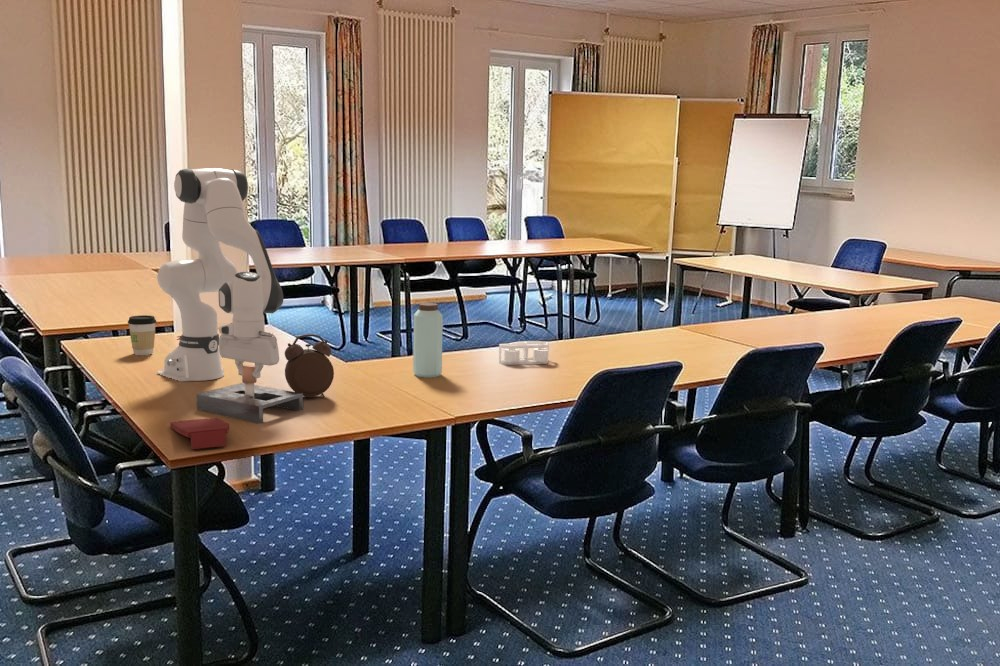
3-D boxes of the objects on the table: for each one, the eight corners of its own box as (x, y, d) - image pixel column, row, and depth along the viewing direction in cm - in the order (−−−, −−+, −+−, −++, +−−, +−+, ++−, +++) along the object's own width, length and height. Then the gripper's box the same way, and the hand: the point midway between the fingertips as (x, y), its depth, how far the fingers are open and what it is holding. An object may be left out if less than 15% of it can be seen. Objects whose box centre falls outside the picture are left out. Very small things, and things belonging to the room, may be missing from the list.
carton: (170, 439, 251) (184, 450, 229) (169, 421, 251) (182, 430, 229) (216, 435, 257) (234, 444, 234) (215, 417, 256) (232, 425, 234)
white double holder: (501, 366, 340) (502, 347, 339) (495, 360, 350) (495, 341, 349) (554, 365, 344) (554, 346, 343) (546, 359, 355) (547, 340, 353)
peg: (249, 405, 273) (249, 364, 271) (261, 408, 271) (261, 366, 268) (237, 409, 269) (237, 367, 267) (250, 411, 267) (249, 369, 264)
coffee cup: (136, 354, 343) (134, 314, 340) (162, 355, 343) (160, 315, 340) (124, 360, 333) (122, 318, 331) (151, 360, 333) (149, 319, 330)
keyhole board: (259, 423, 256) (258, 406, 255) (196, 410, 268) (196, 394, 267) (302, 410, 272) (302, 393, 271) (242, 398, 283) (241, 382, 282)
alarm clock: (329, 393, 292) (328, 331, 289) (335, 399, 286) (334, 335, 282) (282, 397, 286) (281, 333, 283) (287, 402, 280) (286, 337, 276)
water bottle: (439, 379, 316) (441, 306, 312) (410, 378, 317) (411, 305, 313) (443, 372, 326) (444, 302, 322) (415, 371, 327) (416, 301, 322)
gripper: (283, 332, 263) (284, 379, 266) (230, 324, 273) (231, 369, 276) (268, 335, 258) (269, 383, 260) (214, 327, 268) (215, 373, 270)
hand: (249, 376), depth 268 cm, fingers closed on peg, 4 cm apart
